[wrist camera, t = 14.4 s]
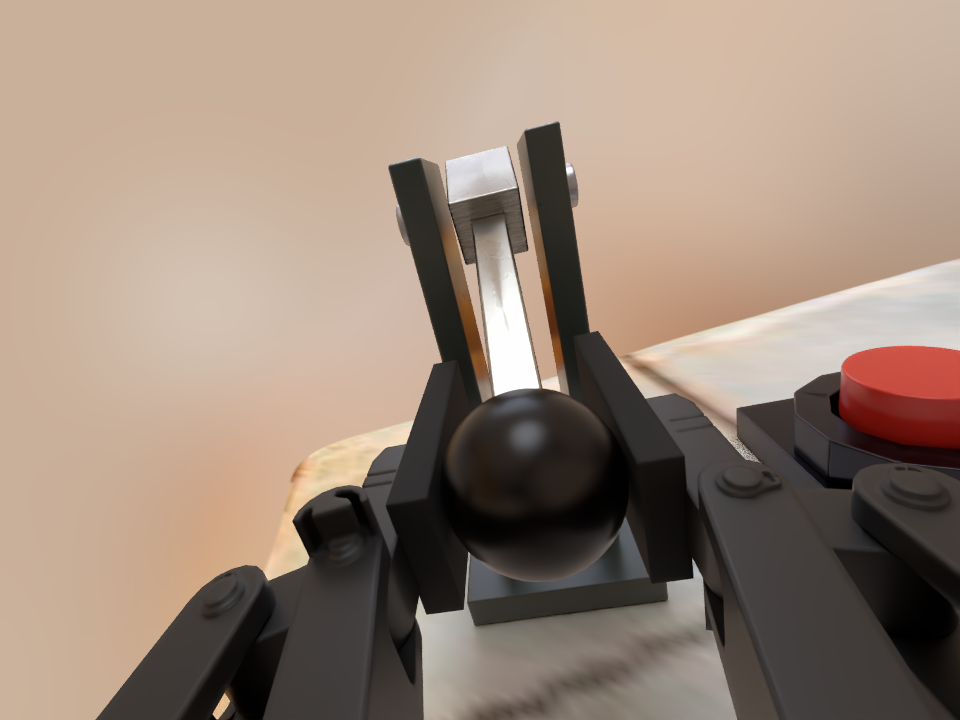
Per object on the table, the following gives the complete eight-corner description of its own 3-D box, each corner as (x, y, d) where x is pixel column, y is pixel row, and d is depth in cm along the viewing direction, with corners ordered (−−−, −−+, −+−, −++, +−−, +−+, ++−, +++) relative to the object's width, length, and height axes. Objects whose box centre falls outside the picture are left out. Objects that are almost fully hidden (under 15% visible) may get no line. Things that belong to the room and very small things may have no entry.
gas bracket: (668, 600, 15) (618, 95, 10) (474, 626, 16) (325, 171, 11) (607, 454, 24) (561, 136, 18) (481, 476, 25) (399, 177, 19)
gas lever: (648, 587, 9) (670, 527, 6) (470, 612, 9) (413, 566, 6) (537, 216, 17) (525, 121, 14) (448, 237, 18) (419, 148, 15)
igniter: (1046, 438, 14) (1062, 382, 14) (900, 461, 15) (907, 408, 14) (923, 382, 18) (930, 337, 18) (812, 402, 19) (814, 358, 18)
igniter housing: (1206, 572, 13) (1254, 471, 11) (903, 609, 13) (918, 520, 12) (903, 407, 22) (912, 342, 21) (736, 436, 23) (735, 375, 22)
